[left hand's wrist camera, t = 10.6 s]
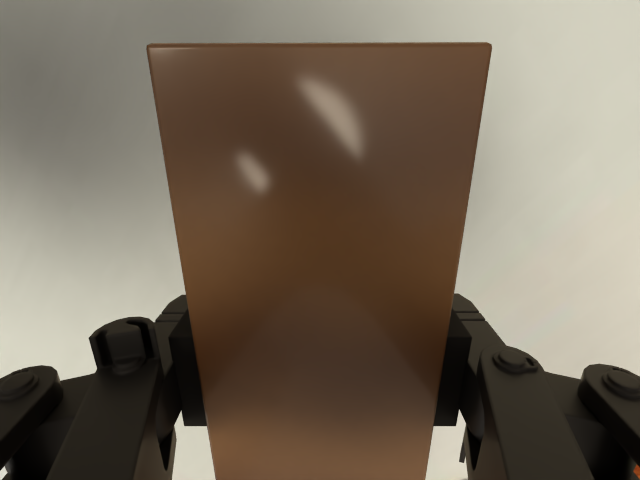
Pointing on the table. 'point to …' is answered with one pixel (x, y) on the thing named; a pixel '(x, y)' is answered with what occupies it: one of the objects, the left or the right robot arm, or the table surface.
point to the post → (319, 243)
